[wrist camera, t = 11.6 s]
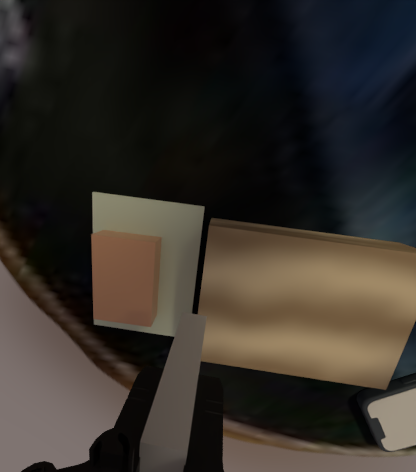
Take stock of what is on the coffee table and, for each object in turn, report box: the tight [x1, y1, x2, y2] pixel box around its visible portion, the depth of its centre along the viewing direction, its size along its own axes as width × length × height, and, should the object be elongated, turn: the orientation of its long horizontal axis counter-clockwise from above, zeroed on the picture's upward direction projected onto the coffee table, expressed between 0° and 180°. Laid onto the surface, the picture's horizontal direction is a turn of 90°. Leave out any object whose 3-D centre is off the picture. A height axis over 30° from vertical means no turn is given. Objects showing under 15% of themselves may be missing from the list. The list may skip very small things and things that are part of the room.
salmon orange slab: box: [91, 230, 162, 327], centre depth 21 cm, size 9×6×2 cm, turn 173°
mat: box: [92, 192, 205, 337], centre depth 22 cm, size 15×11×1 cm
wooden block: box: [198, 218, 416, 390], centre depth 20 cm, size 13×18×4 cm
